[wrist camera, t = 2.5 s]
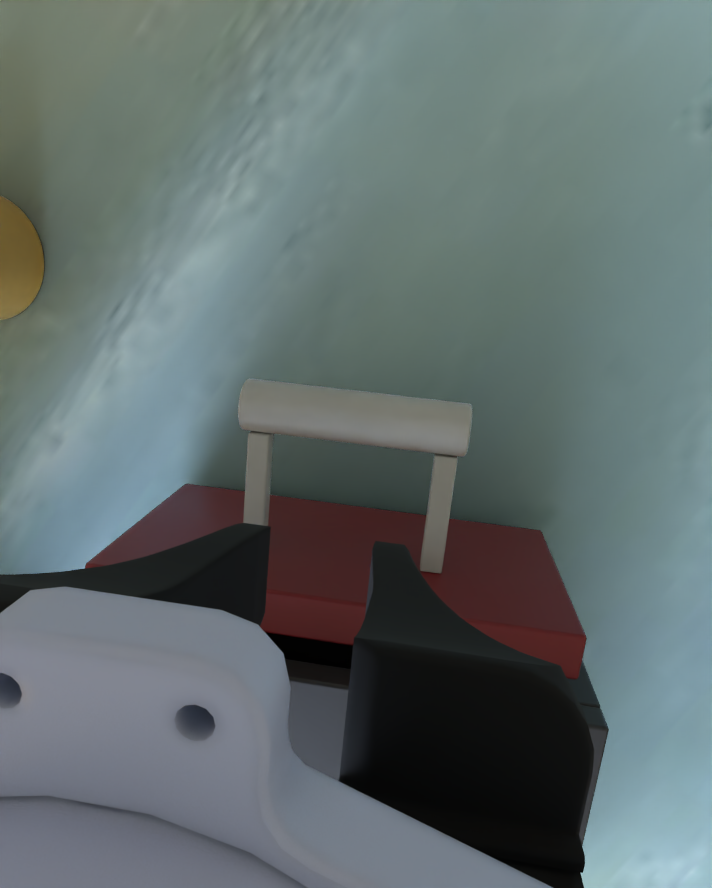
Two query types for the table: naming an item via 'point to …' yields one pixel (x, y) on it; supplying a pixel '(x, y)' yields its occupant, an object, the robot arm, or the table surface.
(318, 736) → the charcoal grey case
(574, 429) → the table surface
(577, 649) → the drawer
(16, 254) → the yellow cylinder
